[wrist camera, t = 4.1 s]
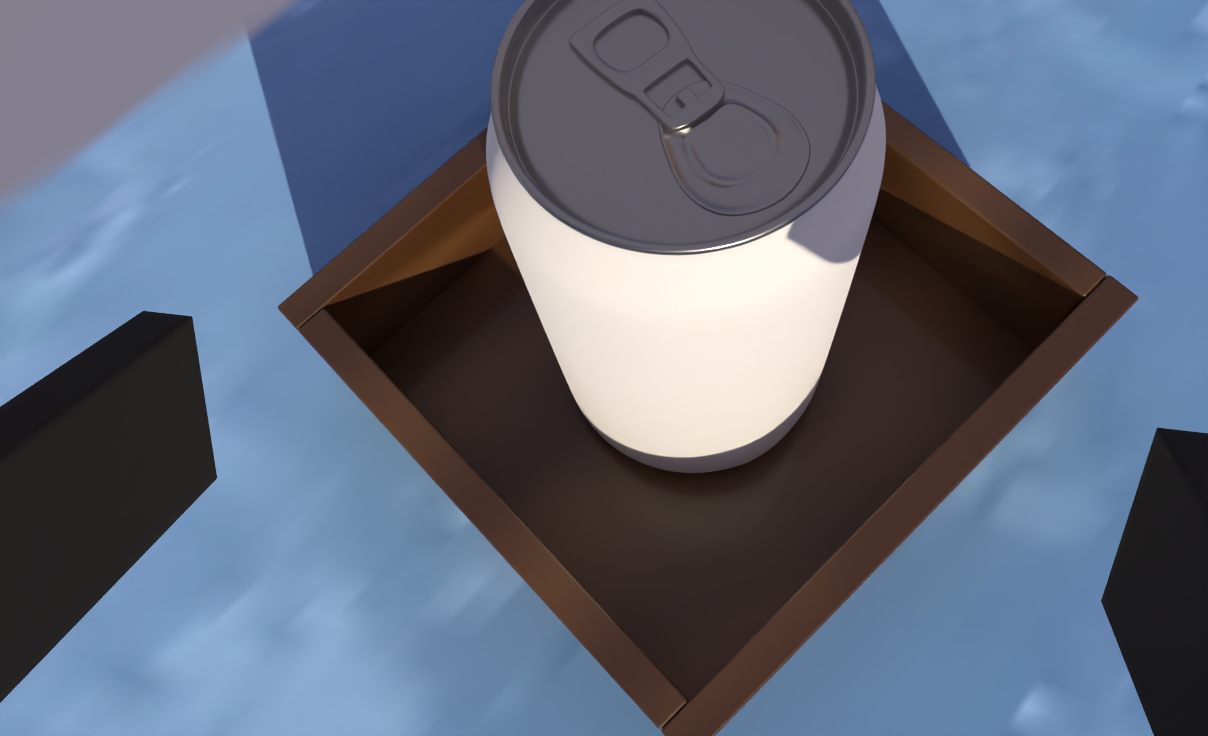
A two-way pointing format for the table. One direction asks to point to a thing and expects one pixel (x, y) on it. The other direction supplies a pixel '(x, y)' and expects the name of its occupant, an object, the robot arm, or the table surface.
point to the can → (687, 207)
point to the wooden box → (726, 497)
